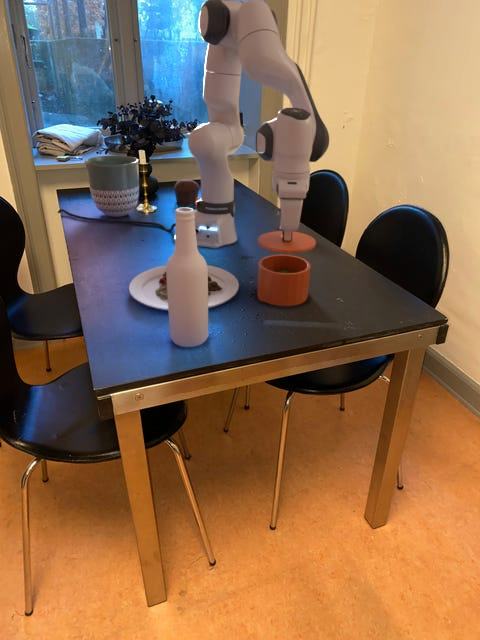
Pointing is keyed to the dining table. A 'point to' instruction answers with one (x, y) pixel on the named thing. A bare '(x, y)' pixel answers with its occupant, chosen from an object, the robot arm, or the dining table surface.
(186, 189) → the muffin
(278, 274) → the pot
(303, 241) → the lid
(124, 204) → the planter
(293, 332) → the dining table surface
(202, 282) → the alcohol
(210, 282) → the plated food
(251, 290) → the dining table surface
